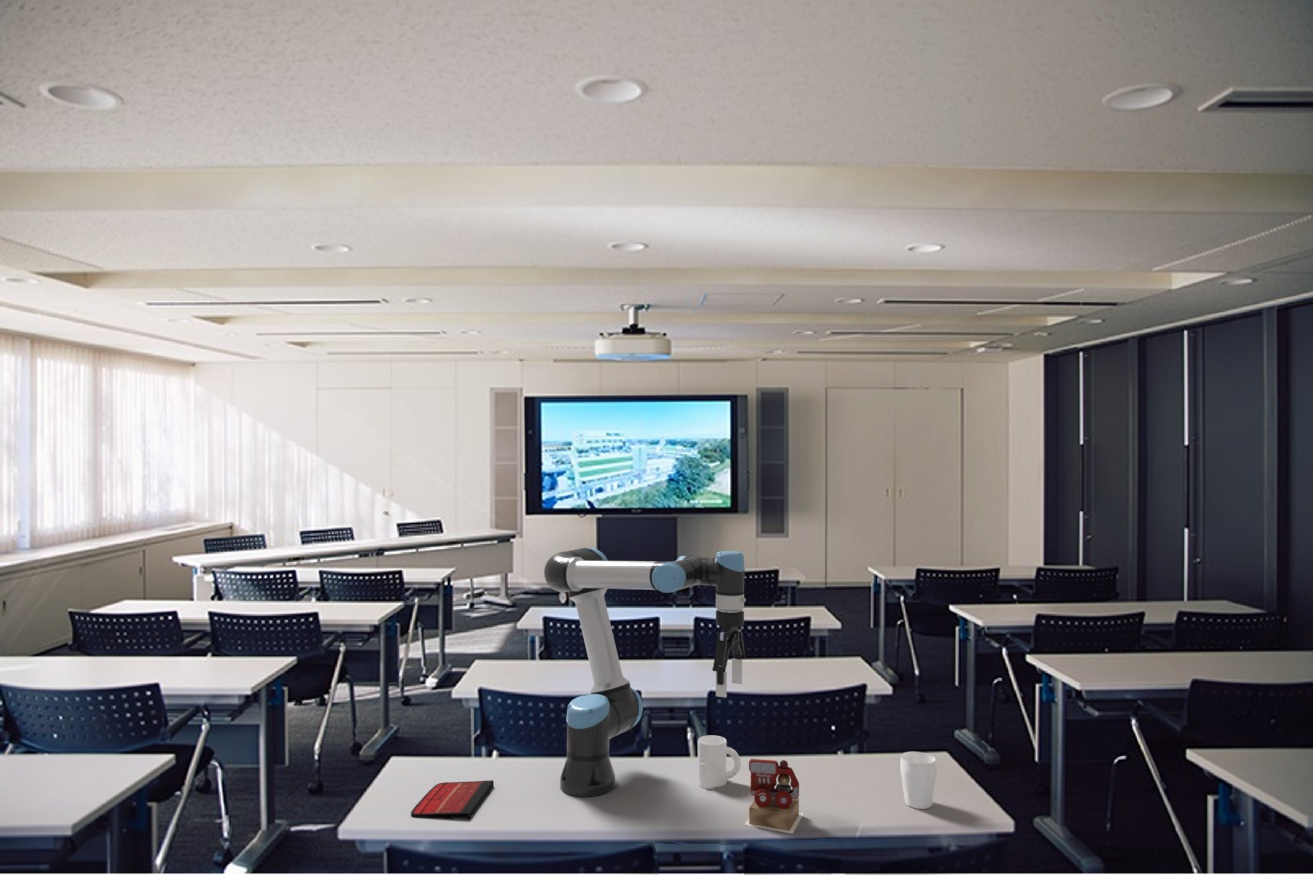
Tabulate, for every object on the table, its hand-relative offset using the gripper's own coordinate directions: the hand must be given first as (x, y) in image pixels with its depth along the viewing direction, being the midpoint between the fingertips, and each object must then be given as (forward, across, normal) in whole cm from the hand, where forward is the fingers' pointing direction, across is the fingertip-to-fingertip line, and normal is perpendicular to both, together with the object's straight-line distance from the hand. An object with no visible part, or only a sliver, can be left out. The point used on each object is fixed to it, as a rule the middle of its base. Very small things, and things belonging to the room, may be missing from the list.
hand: (729, 689), depth 221 cm
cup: (+28, +16, -47) cm, 57 cm away
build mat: (+28, -10, -15) cm, 34 cm away
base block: (+28, -10, -15) cm, 33 cm away
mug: (+29, +7, +5) cm, 30 cm away
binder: (+30, -31, +66) cm, 79 cm away
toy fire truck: (+24, -10, -15) cm, 30 cm away
